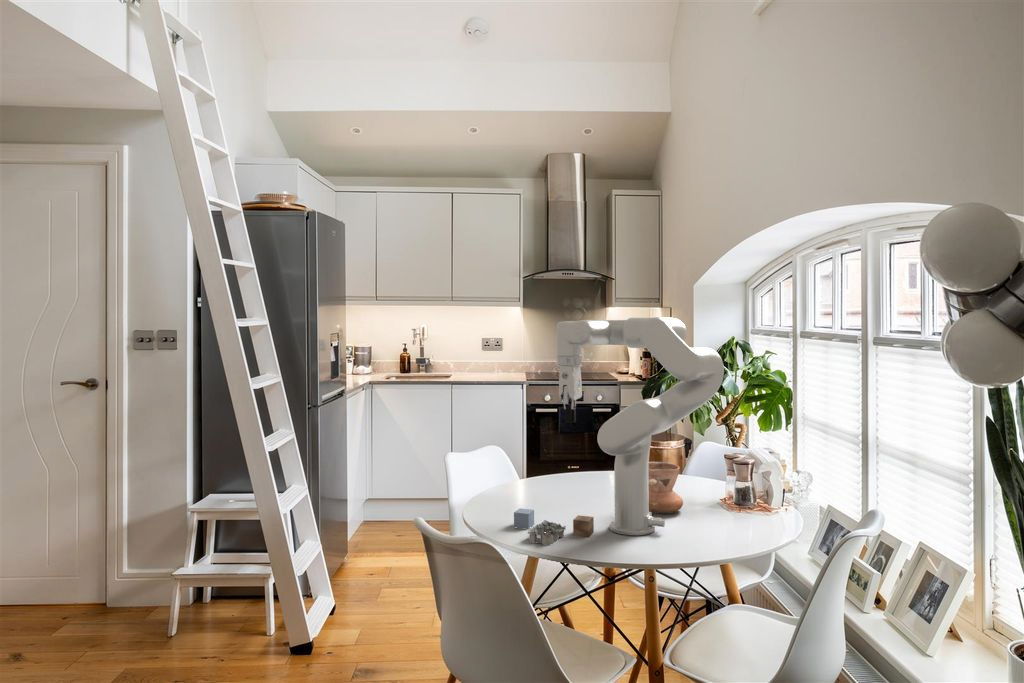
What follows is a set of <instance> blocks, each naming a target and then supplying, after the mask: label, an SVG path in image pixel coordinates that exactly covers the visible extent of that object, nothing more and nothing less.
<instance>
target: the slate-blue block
mask: <svg viewBox="0 0 1024 683" xmlns="http://www.w3.org/2000/svg"><path fill="white" fill-rule="evenodd" d="M533 525H534V526H535V509H529V508H522V507H521V508H518V509H517V510H515V511H514V512H513V528H514V527H517V528H516V529H521V528H526V529H525V530H528V529H529V528H530V527H531V528H533V527H534V526H533Z"/></svg>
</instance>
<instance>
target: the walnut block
mask: <svg viewBox="0 0 1024 683" xmlns="http://www.w3.org/2000/svg"><path fill="white" fill-rule="evenodd" d="M594 528H595V525H594V516H590V515H589V516H588V515H579V514H578V515H577V516H575V518H573V519H572V531H573V532H572V533H573V534H572V535H573V537H581V538H591V536H592V535H593V534H594V533H595V529H594Z"/></svg>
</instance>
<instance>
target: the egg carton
mask: <svg viewBox="0 0 1024 683" xmlns="http://www.w3.org/2000/svg"><path fill="white" fill-rule="evenodd" d="M566 528H567V526H566V525H564V526H562V525H561V524H560V523H556V522H553V521H551V522H550V521H548V520H546V519H544V520H543V521H541V523H539V524H538V523H537V524H535V525H534V526H532V527H531V528H529V529H527V535H529V540H530V543H531V542H532V543H531V544H537V543H536V542H541V543H540V544H543V545H542V546H548V545H547V544H552V545H554V542H558V541H559V540H560V538H559V537H563V538H564V537H565V531H567V530H566ZM543 532H546V533H543ZM554 540H555V541H554ZM557 540H558V541H557Z"/></svg>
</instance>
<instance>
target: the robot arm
mask: <svg viewBox="0 0 1024 683" xmlns="http://www.w3.org/2000/svg"><path fill="white" fill-rule="evenodd" d="M687 335H688V333H687V327H686V326H685V324H684V322H682V321H681V320H680V319H678V318H675V317H671V316H670V317H666V316H664V317H663V316H658V317H657V316H656V317H629V318H627V319H611V320H610V319H609V320H608V319H582V320H581V319H580V320H565V321H559V322H557V324H556V367H558V368H559V376H558V396H559V399H560V400H562V401H563V402H562V403H563V411H564V412H563V414H564V416H563V419H564V420H563V421H564V423H565V424H566V423H568V424H574V423H576V422H577V420H576V419H577V411H576V410H577V409H576V407H577V400H578V399H582V397H583V384H582V372H581V367H583V356H582V355H583V352H582V350H583V348H582V346H597V345H598V346H607V345H609V346H627V347H628V348H630V349H647V351H648V352H649V353H650V354H651V355H652V356H653V357H654V358H655V360H656V361H657V362H658V363H660V365H661V366H663V368H664V369H665V370H666V372H668V374H670V375H671V376H672V377H674V378H675V379H676V380H679V382H677V383H675V384H674V385H672V386H671V387H669V389H667V390H665V391H664V392H662V393H661V394H660V395H657V396H655V397H651V398H650V397H649V398H646V399H641V400H636V401H635V402H633V403H630V404H629V405H628V406H626V407H624V408H623V409H622V410H620V411H619V412H617V413H616V414H615V415H614V416H612V417H610V418H609V419H608V420H606V421H605V422H604V423H603V424H602V425H601V426H600V428H599V430H598V433H597V444H598V446H599V448H600V450H602V452H604V453H605V454H608V455H609V456H615V459H614V474H613V475H614V476H613V477H614V479H613V480H614V482H613V483H614V485H613V486H614V492H613V493H614V520H612V521H610V522H609V526H608V528H609V529H610V531H611V532H614V533H616V534H620V535H625V536H643V535H645V536H646V535H649V534H651V533H653V532H655V530H656V529H655V528H656V527H662V528H665V525H666V521H665V520H666V519H663V518H662V517H654V516H652V515H653V513H652V512H649V462H650V461H649V460H650V451H651V450H650V449H651V446H652V435H653V436H654V435H658V434H661V433H663V432H667V430H669V429H670V428H672V427H674V426H675V425H676V424H677V423H679V422H680V421H682V420H684V419H685V418H687V417H688V416H689V415H691V414H692V413H694V412H695V411H696V410H698V409H699V408H700V407H702V406H704V405H705V404H706V403H707V402H709V401H710V400H711V399H712V398H713V397H714V396H715V395H716V394H717V392H718V391H719V389H720V387H721V385H722V383H723V379H724V374H725V371H724V370H725V368H724V362H723V359H722V357H721V355H720V354H719V353H718V352H717V351H716V350H714V349H712V348H709V347H705V346H697V347H695V346H693V347H690V346H688V345H687V344H686V342H685V341H686V338H687Z"/></svg>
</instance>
